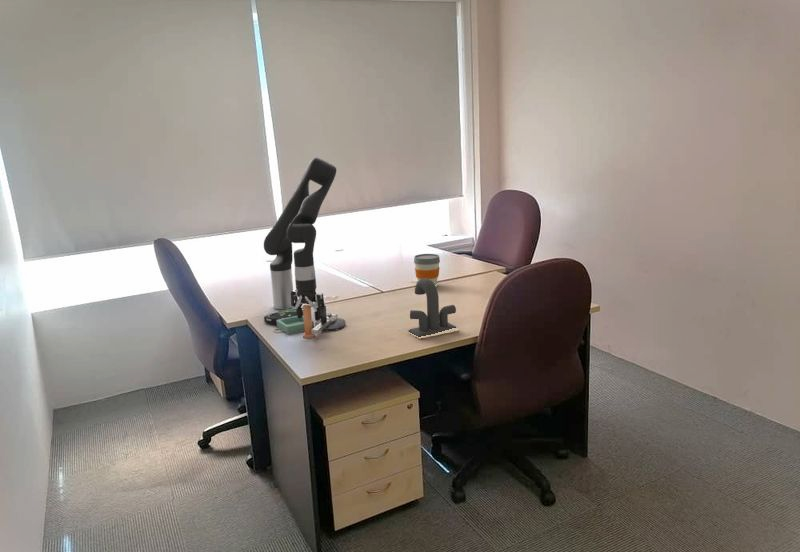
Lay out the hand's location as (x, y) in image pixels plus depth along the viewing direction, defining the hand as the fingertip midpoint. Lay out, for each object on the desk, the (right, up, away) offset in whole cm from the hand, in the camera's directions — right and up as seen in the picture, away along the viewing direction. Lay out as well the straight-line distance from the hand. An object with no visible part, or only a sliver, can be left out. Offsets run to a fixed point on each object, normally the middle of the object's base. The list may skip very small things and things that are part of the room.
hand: (308, 318), depth 219 cm
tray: (-7, -4, +12) cm, 14 cm away
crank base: (+7, -4, +12) cm, 14 cm away
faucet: (+45, -5, +4) cm, 46 cm away
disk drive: (-13, -2, +22) cm, 26 cm away
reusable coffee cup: (+48, +11, +66) cm, 82 cm away
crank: (+5, -3, +7) cm, 9 cm away
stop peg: (0, -7, +2) cm, 7 cm away
